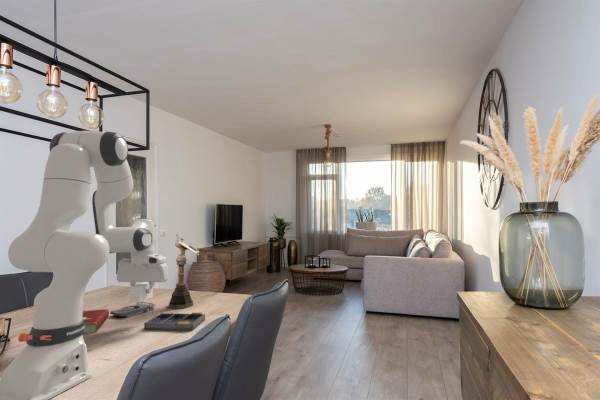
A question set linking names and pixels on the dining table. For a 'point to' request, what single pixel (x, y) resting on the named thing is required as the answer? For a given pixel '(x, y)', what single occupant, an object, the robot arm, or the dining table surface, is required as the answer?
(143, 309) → the graphics card
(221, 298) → the dining table surface
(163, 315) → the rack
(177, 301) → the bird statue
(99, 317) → the hardcover book
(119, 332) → the dining table surface
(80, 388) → the dining table surface
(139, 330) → the dining table surface
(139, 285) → the white rectangular block
